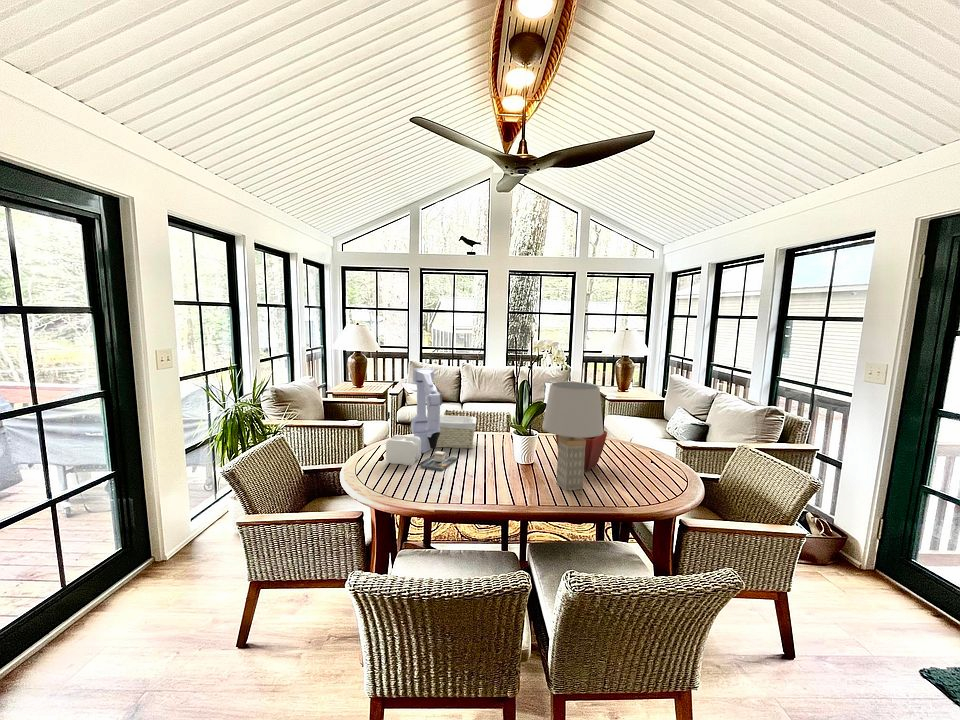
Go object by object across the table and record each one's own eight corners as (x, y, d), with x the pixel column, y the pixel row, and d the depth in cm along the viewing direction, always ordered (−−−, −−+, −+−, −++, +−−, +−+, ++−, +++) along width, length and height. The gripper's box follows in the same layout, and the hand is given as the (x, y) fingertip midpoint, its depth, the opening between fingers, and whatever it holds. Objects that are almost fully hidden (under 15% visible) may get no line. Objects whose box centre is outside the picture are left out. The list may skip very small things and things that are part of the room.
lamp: (555, 501, 169) (560, 391, 165) (530, 477, 193) (534, 380, 189) (611, 496, 176) (618, 389, 171) (581, 473, 200) (586, 380, 196)
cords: (433, 456, 219) (433, 454, 218) (436, 456, 218) (436, 455, 218) (418, 465, 205) (418, 463, 205) (421, 466, 204) (421, 464, 204)
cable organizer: (383, 463, 206) (384, 439, 205) (392, 456, 216) (392, 433, 215) (414, 466, 203) (414, 442, 202) (421, 459, 213) (421, 436, 212)
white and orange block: (437, 459, 210) (437, 451, 209) (444, 460, 208) (444, 452, 208) (434, 461, 207) (434, 452, 207) (441, 462, 206) (442, 454, 205)
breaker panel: (437, 456, 218) (437, 453, 218) (457, 460, 214) (457, 456, 214) (420, 467, 202) (420, 463, 202) (441, 471, 198) (442, 467, 198)
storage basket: (475, 441, 247) (476, 415, 245) (475, 450, 231) (475, 422, 229) (433, 439, 247) (434, 414, 246) (430, 448, 231) (430, 421, 230)
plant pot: (590, 475, 198) (592, 439, 196) (552, 465, 210) (554, 431, 208) (606, 464, 213) (608, 431, 212) (570, 456, 225) (571, 424, 223)
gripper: (429, 415, 207) (429, 443, 208) (420, 422, 193) (419, 452, 194) (444, 416, 205) (443, 444, 207) (435, 423, 191) (434, 453, 193)
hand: (433, 448), depth 200 cm, fingers closed
